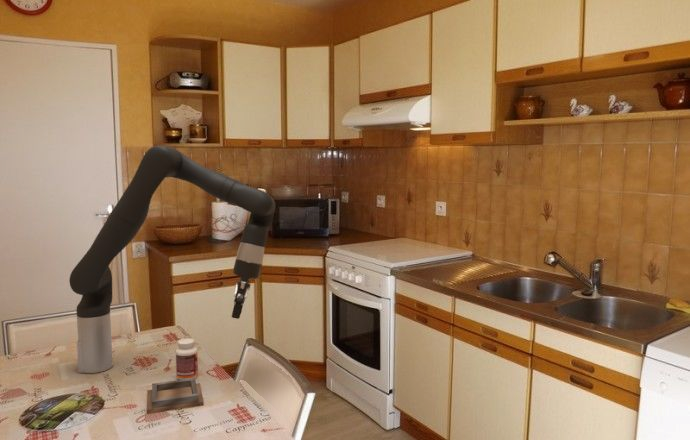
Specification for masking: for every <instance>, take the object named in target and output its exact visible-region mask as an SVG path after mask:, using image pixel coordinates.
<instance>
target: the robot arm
mask: <svg viewBox="0 0 690 440" xmlns="http://www.w3.org/2000/svg"><path fill="white" fill-rule="evenodd" d="M167 178H173V179H177V180H182V181H185V182H187V183H189V184H190V183H191V184H192V185H195V186H196V187H198V188H200V189H201V190H202V191H204V192H205V193H207V194H209V195H211V196H212V197H214V198H216V199H218V200H220V201H223V202H224V203H228V204H229V205H233V206H237V207H239V208H240V209H243V210H245V211H247V212H249V213H250V215H249V218H248V222H247V224H246V225H244V229H243V232H242V234H241V235H242V236H241V239H240V243H239V246H238V249H237V254H236V255H235V256H236V257H235V261H234V265H233V270H232V274H233V275H235V276H240V280H239V281H236V284H235V291H234V300H233V309H232V313H231V318H232V319H237V320H238V319H240V317H241V314H242V311H243V306H244V303H245V302H246V300H247V297H248V295H249V291H250V290H251V289H250V288H251V286H252V285H251V284H250V279H254V280H258V279H259V278H260V274H261V270H262V269H261V268H262V265H263V260H264V258H265V257H264V256H265V247H266V244H267V239H268V234H269V230H270V228H271V224H272V222H273V219H274V215H275V211H276V202H275V199H274V198H273V197H272V196H271V195H270V194H269V193H267V192H265V191H263V190H261V189H259V188H255V187H252V186H249V185H246V184H244V183H242V182H241V181H239V180H237V179H235V178H232V177H229V175H228V176H227V175H226V174H223V173H220V172H217V171H216V170H213V169H210V168H208V167H206V166H204V165H202V164H200V163H198V162H196V161H195V160H193V159H191V158H190V157H188V156H187V155H185V154H184V153H182V152H181V151H179V150H178V149H176V148H175V147H173V146H170V145H154V146H152V147H150V148H149V149H148V150H146V152H145V153H144V154H143V156H142V159H141V160H140V163H139V164H138V167H137V170H136V172H135V173H134V175H133V177H132V180H131V181H130V183H129V184H128V186H127V187H126V189H125V191H123V193H122V195H121V197H120V198H119V200H118V201H117V203H116V204H115V206H114V207H113V209H112V210H111V212H110V214H109V215H108V216H107V218H106V220H105V222H104V224H103V226H102V227H101V229H100V230H99V232H98V234H97V236H95V239H94V240H93V243H92V244H91V245H90V247H89V249H88V250H87V252H86V253H85V254H84V255H83V256H82V258H81V259H80V260H79V262H78V263H77V264H76V265H75V266H74V268H73V269H72V271H71V273H70V275H69V282H68V283H69V287H70V289H71V290H72V292H74V293H75V294H77V295H79V296H80V295H81V299H80V301H79V303H78V304H77V305H76V309H75V310H76V326H77V327H76V328H77V329H76V330H77V342H76V348H77V349H76V350H77V353H76V354H77V366H78V367H77V368H78V369H77V370H78V374H96V373H97V374H98V373H101V372H104V371H108V370H110V369H111V368H112V367H113V344H112V342H113V341H112V326H111V325H112V324H111V322H112V321H111V305H112V302H113V273H112V270H111V268H110V264H111V262H113V260H114V259H115V258H116V257H117V255H119V254H120V253H121V252H122V251H123V250H124V249H125V248H126V247H127V246H128V245H129V244H130V242H132V241H133V239H135V237H136V236H137V234H138V232H139V231H140V230H141V227H142V226H143V225H144V223H145V221H146V219H147V217H148V213H149V210H150V205H151V201H152V198H153V196H154V194H155V192H156V190H157V189H158V187H160V185H161V184H162V182H163V181H164V180H165V179H167Z"/></svg>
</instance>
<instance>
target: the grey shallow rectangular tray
mask: <svg viewBox="0 0 690 440" xmlns="http://www.w3.org/2000/svg"><path fill="white" fill-rule="evenodd" d="M146 392H147V393H146V415H147V414H154V413H155V414H156V413H161V412H167V411H173V410H180V409H186V408H187V409H188V408H193V407H200V406H204V405H205V404H204V403H205V401H204V397H203V392H202V387H201V383H200V382H198V383H197V381H196V378H191V379H184V380H179V379H177V380H169V381H162V382H154V383H151V389H147V390H146Z"/></svg>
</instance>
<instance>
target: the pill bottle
mask: <svg viewBox="0 0 690 440" xmlns="http://www.w3.org/2000/svg"><path fill="white" fill-rule="evenodd" d="M177 341H178V342H177V349H176V350H175V373H176V374H175V376H176V378H177V380H184V379H191V378H195V379H196V378H197V377H198V376H199V366H198V365H199V364H198V363H199V362H198V361H199V360H198V348H197V347H196V346H195V339H193V338H181V339H179V340H177Z"/></svg>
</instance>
